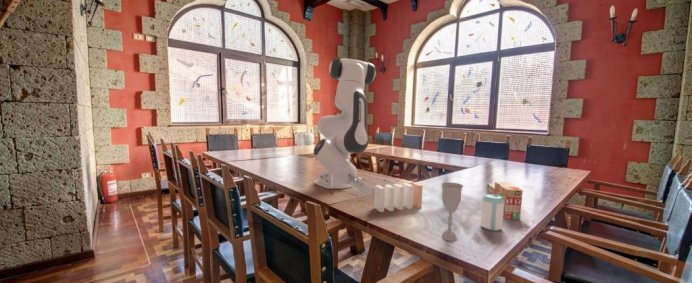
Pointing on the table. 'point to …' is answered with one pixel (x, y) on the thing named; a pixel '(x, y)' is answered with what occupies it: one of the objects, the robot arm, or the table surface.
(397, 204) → the domino
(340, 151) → the robot arm
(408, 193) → the domino
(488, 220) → the can
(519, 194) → the stack of blocks
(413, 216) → the table surface
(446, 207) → the chalice
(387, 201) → the domino
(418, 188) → the domino
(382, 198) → the domino
